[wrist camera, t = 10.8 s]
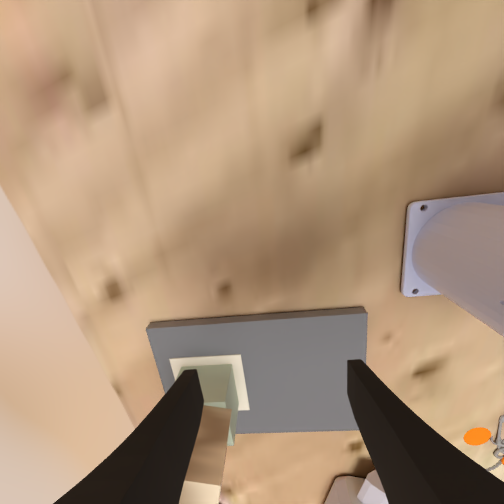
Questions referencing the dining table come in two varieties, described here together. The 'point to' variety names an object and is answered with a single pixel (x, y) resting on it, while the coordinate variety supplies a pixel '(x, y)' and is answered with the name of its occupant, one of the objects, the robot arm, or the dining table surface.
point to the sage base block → (219, 390)
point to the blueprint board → (273, 364)
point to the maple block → (207, 458)
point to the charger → (357, 490)
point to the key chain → (483, 435)
